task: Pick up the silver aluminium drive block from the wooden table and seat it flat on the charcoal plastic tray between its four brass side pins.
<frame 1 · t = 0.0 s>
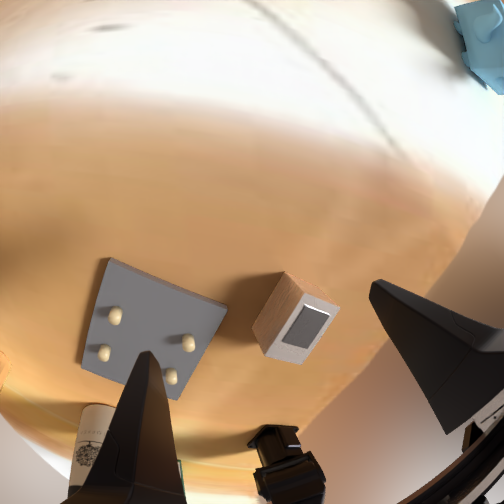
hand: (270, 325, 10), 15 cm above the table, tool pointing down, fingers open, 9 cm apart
coffee box: (172, 466, 35), on the table
pin tray: (145, 338, 25), on the table
drive: (284, 306, 28), on the table
milkshake: (4, 361, 22), on the table
teakettle: (472, 56, 24), on the table
travel mug: (109, 419, 28), on the table
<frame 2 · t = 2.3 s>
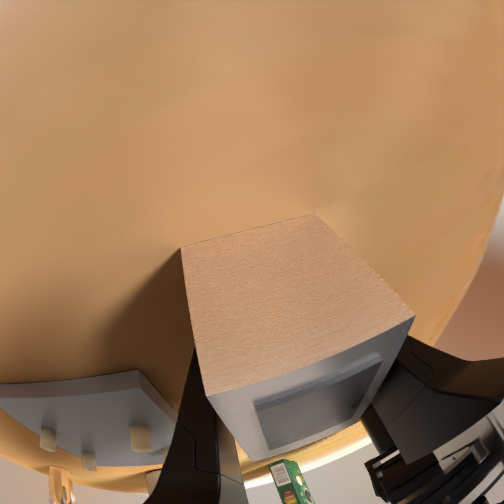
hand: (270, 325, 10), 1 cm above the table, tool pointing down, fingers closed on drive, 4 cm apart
coffee box: (282, 462, 32), on the table
pin tray: (108, 431, 14), on the table
drive: (261, 306, 11), on the table, touching gripper
milkshake: (62, 468, 19), on the table
travel mug: (176, 471, 23), on the table
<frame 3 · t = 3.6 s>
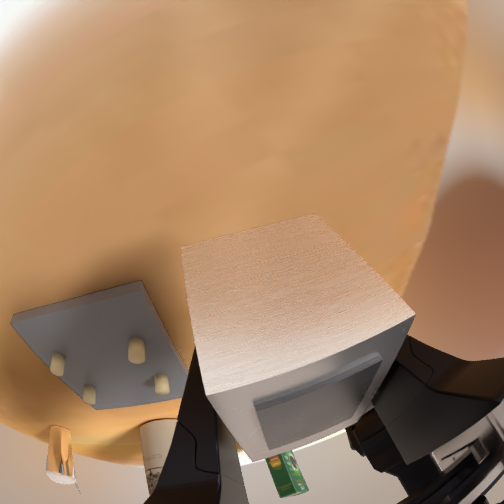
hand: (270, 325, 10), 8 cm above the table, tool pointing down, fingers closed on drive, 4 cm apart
coffee box: (268, 427, 37), on the table
pin tray: (110, 359, 19), on the table
drive: (261, 306, 11), point 7 cm above the table, touching gripper
milkshake: (62, 429, 25), on the table
travel mug: (168, 426, 29), on the table
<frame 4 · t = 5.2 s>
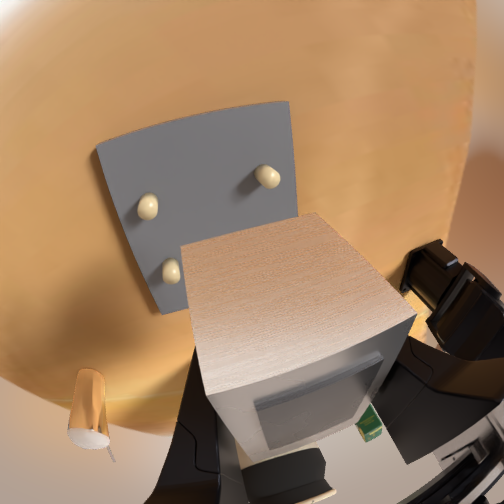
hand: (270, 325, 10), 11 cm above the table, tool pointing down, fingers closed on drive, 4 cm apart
coffee box: (333, 364, 37), on the table
pin tray: (211, 214, 19), on the table
drive: (261, 306, 10), point 10 cm above the table, touching gripper
milkshake: (93, 375, 25), on the table
travel mug: (236, 354, 28), on the table
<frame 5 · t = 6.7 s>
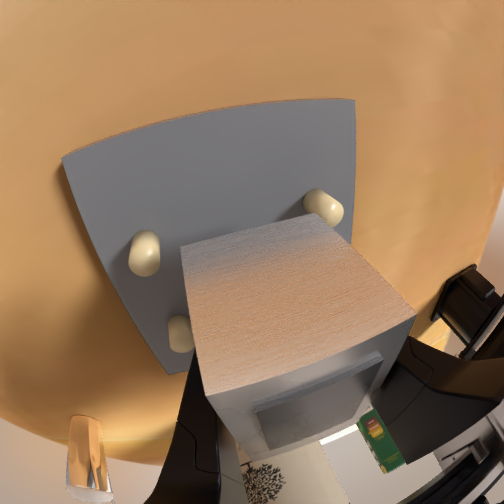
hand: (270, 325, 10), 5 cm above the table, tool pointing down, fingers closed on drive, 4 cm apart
coffee box: (352, 395, 32), on the table
pin tray: (236, 255, 13), on the table
drive: (261, 306, 10), point 4 cm above the table, touching gripper
milkshake: (89, 421, 19), on the table
travel mug: (253, 400, 23), on the table
when the fingers open (3 cm above the table, at t = 7.9 s): drive drops 1 cm, resting on pin tray.
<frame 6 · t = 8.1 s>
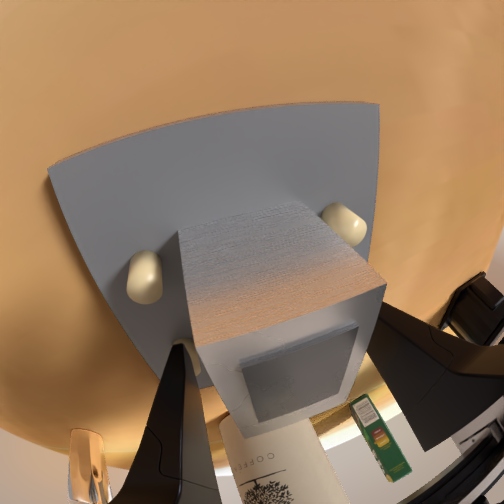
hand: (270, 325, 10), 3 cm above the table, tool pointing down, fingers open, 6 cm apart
coffee box: (357, 403, 30), on the table
pin tray: (245, 274, 12), on the table
drive: (252, 288, 11), point 1 cm above the table, touching pin tray
milkshake: (89, 434, 18), on the table
travel mug: (259, 413, 22), on the table
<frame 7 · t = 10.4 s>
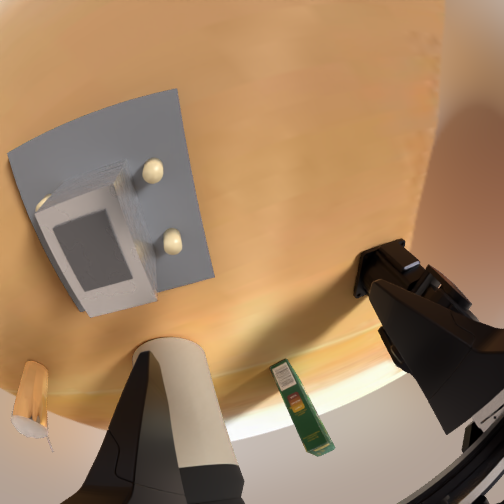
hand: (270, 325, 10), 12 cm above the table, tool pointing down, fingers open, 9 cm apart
coffee box: (284, 371, 35), on the table
pin tray: (112, 212, 17), on the table
drive: (110, 218, 16), point 1 cm above the table, touching pin tray
milkshake: (39, 368, 22), on the table
travel mug: (168, 356, 27), on the table
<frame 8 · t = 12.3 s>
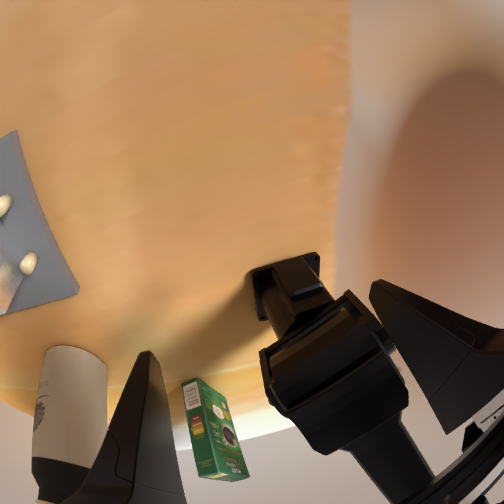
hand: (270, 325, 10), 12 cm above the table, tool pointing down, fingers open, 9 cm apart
coffee box: (203, 389, 33), on the table
travel mug: (76, 363, 24), on the table
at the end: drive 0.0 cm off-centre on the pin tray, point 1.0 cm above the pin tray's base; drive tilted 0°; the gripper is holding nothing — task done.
